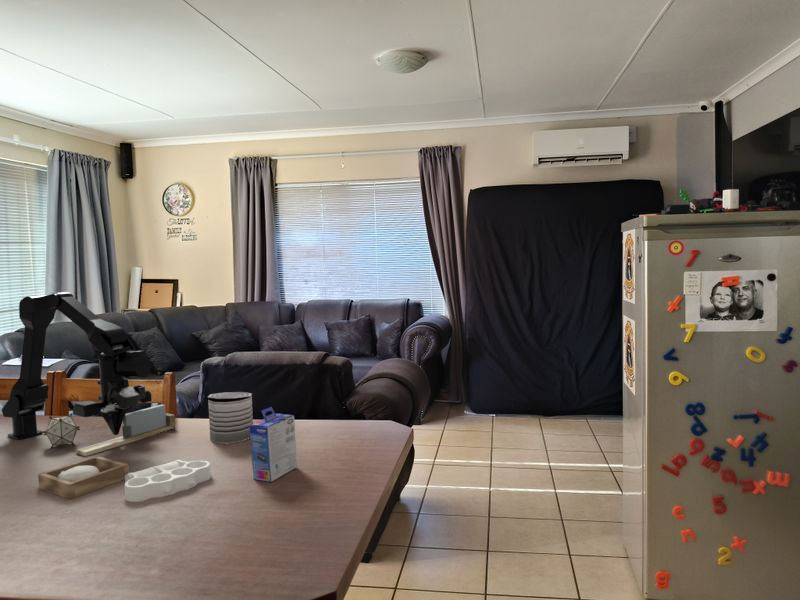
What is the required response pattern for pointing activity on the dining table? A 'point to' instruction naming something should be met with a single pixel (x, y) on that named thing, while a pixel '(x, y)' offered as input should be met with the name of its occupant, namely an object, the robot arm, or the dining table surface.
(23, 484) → the dining table surface
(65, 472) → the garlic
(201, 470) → the white brass knuckles
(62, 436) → the game die
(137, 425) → the panel
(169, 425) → the rail
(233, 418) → the can
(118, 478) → the garlic tray
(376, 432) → the dining table surface
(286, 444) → the ink cartridge box
